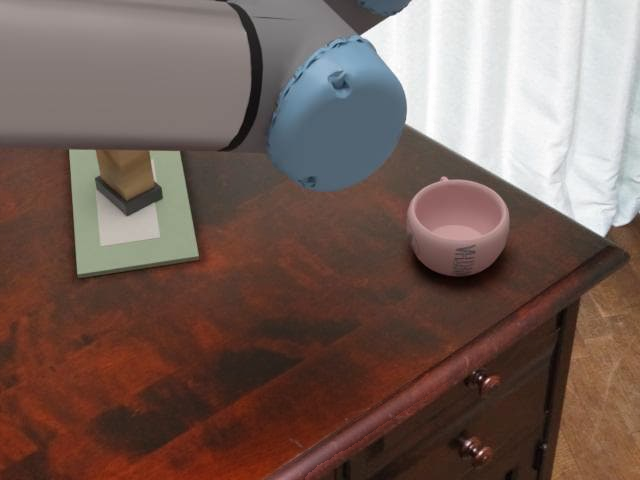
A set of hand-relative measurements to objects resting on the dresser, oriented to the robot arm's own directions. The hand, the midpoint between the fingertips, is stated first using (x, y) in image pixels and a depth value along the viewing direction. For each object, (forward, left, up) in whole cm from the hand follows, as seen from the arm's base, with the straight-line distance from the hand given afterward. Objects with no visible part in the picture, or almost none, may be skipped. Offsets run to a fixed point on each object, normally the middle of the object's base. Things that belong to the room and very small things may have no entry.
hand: (187, 102), depth 101 cm
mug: (+20, -14, -20) cm, 32 cm away
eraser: (0, +14, -19) cm, 23 cm away
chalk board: (0, +14, -20) cm, 24 cm away
